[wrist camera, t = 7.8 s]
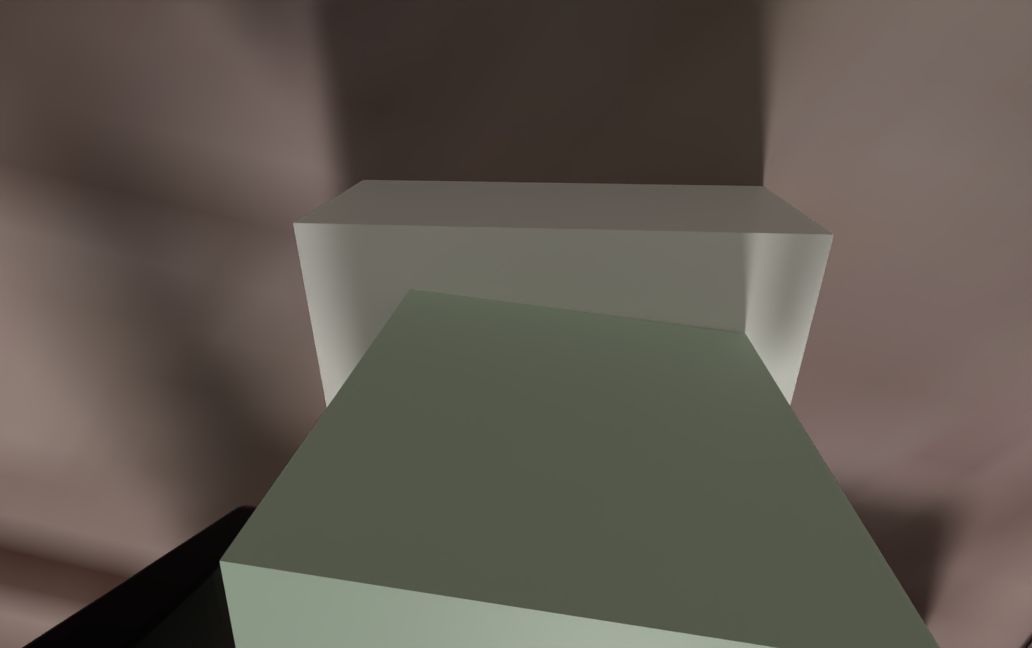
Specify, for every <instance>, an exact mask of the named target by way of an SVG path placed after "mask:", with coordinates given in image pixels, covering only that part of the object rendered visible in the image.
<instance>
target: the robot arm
mask: <svg viewBox="0 0 1032 648" xmlns="http://www.w3.org/2000/svg"><path fill="white" fill-rule="evenodd" d="M256 508H257V507H256V506H249V505H244V506H240V507H238V508H236V509H235V510H233V511H232V512H230V513H228V514H227V515H225V516H224V517H222V518H221V519H219V520H218V521H216V522H215V523H213V524H212V525H210V526H208V527H207V528H205V529H204V530H202V531H201V532H199V533H198V534H196V535H195V536H193V537H192V538H190V539H188V540H187V541H185V542H184V543H182V544H181V545H179V546H178V547H176V548H175V549H173V550H172V551H170V552H168V553H167V554H165V555H164V556H162V557H161V558H159V559H158V560H156V561H155V562H153V563H152V564H150V565H148V566H147V567H145V568H144V569H142V570H141V571H139V572H138V573H136V574H135V575H133V576H132V577H130V578H128V579H127V580H125V581H124V582H122V583H121V584H119V585H118V586H116V587H115V588H113V589H112V590H110V591H108V592H107V593H105V594H104V595H102V596H101V597H99V598H98V599H96V600H95V601H93V602H92V603H90V604H88V605H87V606H85V607H84V608H82V609H81V610H79V611H78V612H76V613H75V614H73V615H72V616H70V617H68V618H67V619H65V620H64V621H62V622H61V623H59V624H58V625H56V626H55V627H53V628H52V629H50V630H48V631H47V632H45V633H44V634H42V635H41V636H39V637H38V638H36V639H35V640H33V641H32V642H30V643H28V644H27V645H25V646H24V647H22V648H236V647H235V642H234V636H233V631H232V626H231V620H230V615H229V609H228V604H227V599H226V593H225V588H224V583H223V577H222V572H221V567H220V559H221V558H222V556H223V555H224V554H225V552H226V551H227V549H228V548H229V546H230V545H231V544H232V542H233V541H234V539H235V538H236V536H237V535H238V534H239V532H240V531H241V529H242V528H243V527H244V525H245V524H246V522H247V521H248V519H249V518H250V517H251V515H252V514H253V512H254V511H255V509H256Z"/></svg>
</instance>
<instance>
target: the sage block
mask: <svg viewBox="0 0 1032 648" xmlns="http://www.w3.org/2000/svg"><path fill="white" fill-rule="evenodd" d="M220 567H221V572H222V577H223V583H224V588H225V593H226V599H227V604H228V609H229V615H230V620H231V626H232V631H233V636H234V642H235V647H236V648H940V647H939V646H938V644H937V642H936V641H935V639H934V638H933V636H932V634H931V633H930V631H929V629H928V628H927V626H926V625H925V623H924V621H923V620H922V618H921V617H920V615H919V613H918V612H917V610H916V608H915V607H914V605H913V604H912V602H911V600H910V599H909V597H908V596H907V594H906V592H905V591H904V589H903V587H902V586H901V584H900V583H899V581H898V579H897V578H896V576H895V574H894V573H893V571H892V570H891V568H890V566H889V565H888V563H887V562H886V560H885V558H884V557H883V555H882V553H881V552H880V550H879V549H878V547H877V545H876V544H875V542H874V541H873V539H872V537H871V536H870V534H869V532H868V531H867V529H866V528H865V526H864V524H863V523H862V521H861V520H860V518H859V516H858V515H857V513H856V511H855V510H854V508H853V507H852V505H851V503H850V502H849V500H848V499H847V497H846V495H845V494H844V492H843V490H842V489H841V487H840V486H839V484H838V482H837V481H836V479H835V477H834V476H833V474H832V473H831V471H830V469H829V468H828V466H827V465H826V463H825V461H824V460H823V458H822V456H821V455H820V453H819V452H818V450H817V448H816V447H815V445H814V444H813V442H812V440H811V439H810V437H809V435H808V434H807V432H806V431H805V429H804V427H803V426H802V424H801V423H800V421H799V419H798V418H797V416H796V414H795V413H794V411H793V410H792V408H791V406H790V405H789V403H788V402H787V400H786V398H785V397H784V395H783V393H782V392H781V390H780V389H779V387H778V385H777V384H776V382H775V380H774V379H773V377H772V376H771V374H770V372H769V371H768V369H767V368H766V366H765V364H764V363H763V361H762V359H761V358H760V356H759V355H758V353H757V351H756V350H755V348H754V347H753V345H752V343H751V342H750V340H749V338H748V337H747V335H746V334H742V333H735V332H727V331H720V330H713V329H705V328H698V327H690V326H683V325H676V324H668V323H661V322H653V321H646V320H639V319H631V318H624V317H616V316H609V315H602V314H594V313H587V312H579V311H572V310H565V309H557V308H550V307H542V306H535V305H528V304H520V303H513V302H505V301H498V300H491V299H483V298H475V297H468V296H460V295H453V294H445V293H437V292H430V291H422V290H415V289H410V290H409V291H408V293H407V294H406V295H405V297H404V298H403V300H402V301H401V303H400V304H399V305H398V307H397V308H396V310H395V311H394V313H393V314H392V315H391V317H390V318H389V320H388V321H387V323H386V324H385V325H384V327H383V328H382V330H381V331H380V333H379V334H378V335H377V337H376V338H375V340H374V341H373V343H372V344H371V345H370V347H369V348H368V350H367V351H366V353H365V354H364V355H363V357H362V358H361V360H360V361H359V362H358V364H357V365H356V367H355V368H354V370H353V371H352V372H351V374H350V375H349V377H348V378H347V380H346V381H345V382H344V384H343V385H342V387H341V388H340V390H339V391H338V392H337V394H336V395H335V397H334V398H333V400H332V401H331V402H330V404H329V405H328V407H327V408H326V410H325V411H324V412H323V414H322V415H321V417H320V418H319V420H318V421H317V422H316V424H315V425H314V427H313V428H312V430H311V431H310V432H309V434H308V435H307V437H306V438H305V440H304V441H303V442H302V444H301V445H300V447H299V448H298V449H297V451H296V452H295V454H294V455H293V457H292V458H291V459H290V461H289V462H288V464H287V465H286V467H285V468H284V469H283V471H282V472H281V474H280V475H279V477H278V478H277V479H276V481H275V482H274V484H273V485H272V487H271V488H270V489H269V491H268V492H267V494H266V495H265V497H264V498H263V499H262V501H261V502H260V504H259V505H258V507H257V508H256V509H255V511H254V512H253V514H252V515H251V517H250V518H249V519H248V521H247V522H246V524H245V525H244V527H243V528H242V529H241V531H240V532H239V534H238V535H237V536H236V538H235V539H234V541H233V542H232V544H231V545H230V546H229V548H228V549H227V551H226V552H225V554H224V555H223V556H222V558H221V559H220Z"/></svg>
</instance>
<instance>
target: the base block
mask: <svg viewBox="0 0 1032 648" xmlns="http://www.w3.org/2000/svg"><path fill="white" fill-rule="evenodd" d="M293 226H294V231H295V236H296V242H297V247H298V253H299V258H300V264H301V269H302V275H303V280H304V286H305V291H306V297H307V302H308V308H309V313H310V319H311V324H312V329H313V335H314V340H315V346H316V351H317V357H318V362H319V368H320V373H321V379H322V384H323V390H324V395H325V401H326V406H327V407H328V405H329V404H330V402H331V401H332V400H333V398H334V397H335V395H336V394H337V392H338V391H339V390H340V388H341V387H342V385H343V384H344V382H345V381H346V380H347V378H348V377H349V375H350V374H351V372H352V371H353V370H354V368H355V367H356V365H357V364H358V362H359V361H360V360H361V358H362V357H363V355H364V354H365V353H366V351H367V350H368V348H369V347H370V345H371V344H372V343H373V341H374V340H375V338H376V337H377V335H378V334H379V333H380V331H381V330H382V328H383V327H384V325H385V324H386V323H387V321H388V320H389V318H390V317H391V315H392V314H393V313H394V311H395V310H396V308H397V307H398V305H399V304H400V303H401V301H402V300H403V298H404V297H405V295H406V294H407V293H408V291H409V290H410V289H415V290H422V291H430V292H437V293H445V294H453V295H460V296H468V297H475V298H483V299H491V300H498V301H505V302H513V303H520V304H528V305H535V306H542V307H550V308H557V309H565V310H572V311H579V312H587V313H594V314H602V315H609V316H616V317H624V318H631V319H639V320H646V321H653V322H661V323H668V324H676V325H683V326H690V327H698V328H705V329H713V330H720V331H727V332H735V333H742V334H746V335H747V337H748V338H749V340H750V342H751V343H752V345H753V347H754V348H755V350H756V351H757V353H758V355H759V356H760V358H761V359H762V361H763V363H764V364H765V366H766V368H767V369H768V371H769V372H770V374H771V376H772V377H773V379H774V380H775V382H776V384H777V385H778V387H779V389H780V390H781V392H782V393H783V395H784V397H785V398H786V400H787V402H788V403H789V405H790V404H791V400H792V397H793V393H794V389H795V385H796V381H797V377H798V373H799V369H800V365H801V361H802V358H803V354H804V350H805V346H806V342H807V338H808V334H809V330H810V326H811V322H812V319H813V315H814V311H815V307H816V303H817V299H818V295H819V291H820V287H821V283H822V280H823V276H824V272H825V268H826V264H827V260H828V256H829V252H830V248H831V244H832V240H833V237H834V234H832V233H831V232H829V231H828V230H826V229H825V228H823V227H822V226H821V225H819V224H818V223H816V222H815V221H813V220H812V219H810V218H809V217H807V216H806V215H805V214H803V213H802V212H800V211H799V210H797V209H796V208H794V207H793V206H791V205H790V204H788V203H787V202H786V201H784V200H783V199H781V198H780V197H778V196H777V195H775V194H774V193H772V192H771V191H769V190H768V189H767V188H765V187H764V186H724V185H661V184H598V183H534V182H471V181H408V180H362V181H361V182H359V183H357V184H356V185H354V186H352V187H351V188H349V189H348V190H346V191H344V192H343V193H341V194H339V195H338V196H336V197H335V198H333V199H331V200H330V201H328V202H326V203H325V204H323V205H322V206H320V207H318V208H317V209H315V210H313V211H312V212H310V213H309V214H307V215H305V216H304V217H302V218H300V219H299V220H297V221H296V222H294V223H293Z"/></svg>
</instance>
